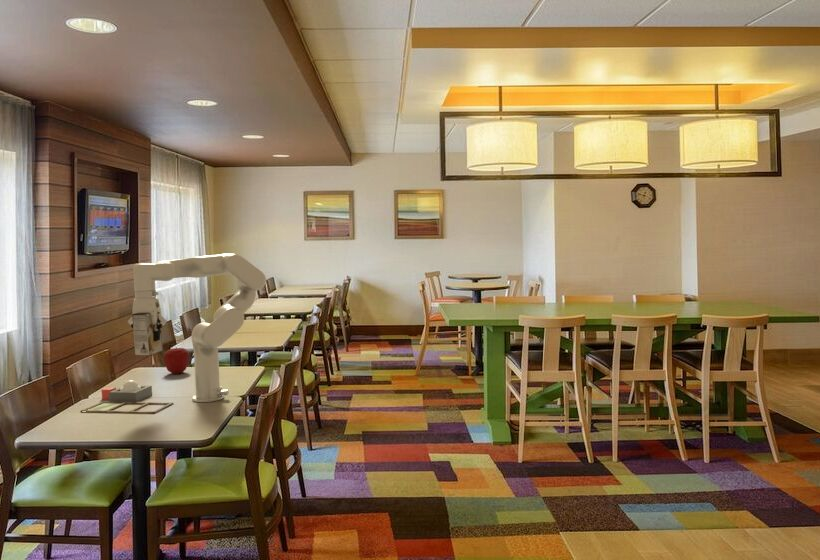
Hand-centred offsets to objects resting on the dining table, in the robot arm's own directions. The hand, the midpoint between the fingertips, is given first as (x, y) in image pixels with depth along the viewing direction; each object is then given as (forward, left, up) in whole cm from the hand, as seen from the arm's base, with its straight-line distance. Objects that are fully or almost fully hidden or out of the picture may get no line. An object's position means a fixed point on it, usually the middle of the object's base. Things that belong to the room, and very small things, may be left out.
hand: (148, 340), depth 255 cm
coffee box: (0, 0, -5) cm, 5 cm away
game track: (+10, 0, -27) cm, 29 cm away
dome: (+18, -15, -25) cm, 34 cm away
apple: (+24, -64, -27) cm, 74 cm away
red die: (+28, -15, -27) cm, 42 cm away
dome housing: (+18, -15, -27) cm, 36 cm away
